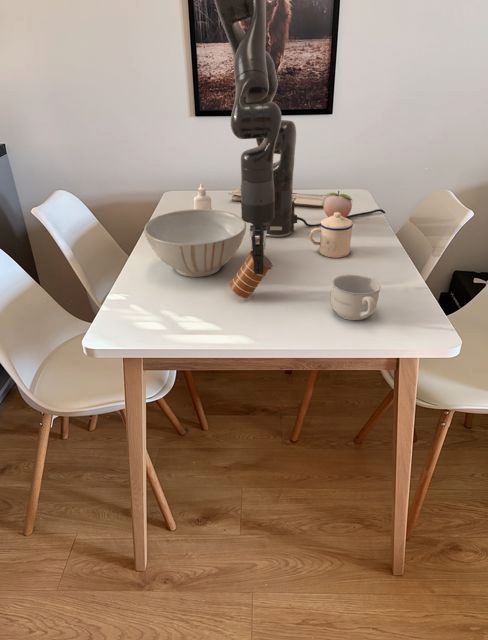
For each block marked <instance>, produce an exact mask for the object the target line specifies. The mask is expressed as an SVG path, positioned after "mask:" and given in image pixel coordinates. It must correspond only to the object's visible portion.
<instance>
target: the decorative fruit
mask: <svg viewBox="0 0 488 640" xmlns="http://www.w3.org/2000/svg"><path fill="white" fill-rule="evenodd" d="M324 195H325V196H327V195H329V196H328V197H327V198H326V199H325V201H324V207H323V211H324V214H325V215H326V216H327V217H330V216H333V215H334V213H335V212H339V213H341V216H343V217H346V216H349V215H350V213H351V212H352V208H353V203H352V201H353V198H352V197H351V196H350V195H348V194H344V193H341V194H340V190H338V191H337V193H336V192H329V193H326V194H324Z"/></svg>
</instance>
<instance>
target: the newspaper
mask: <svg viewBox="0 0 488 640" xmlns="http://www.w3.org/2000/svg"><path fill="white" fill-rule="evenodd" d="M227 194H229V195H232V196H231V200H232V202H240V203H241V188H240V189H239V188H236V189H234V190H233V191H231V192H228V193H227ZM325 195H326V194H315V193H299V192H292V201H294V203H295V206H309V207H321V208H322V207H323V208H324V201H325V199H326V198H327V197H328V196H329V195H327V196H325Z"/></svg>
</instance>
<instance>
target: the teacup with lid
mask: <svg viewBox="0 0 488 640" xmlns="http://www.w3.org/2000/svg"><path fill="white" fill-rule="evenodd" d="M319 224H320V225H321V226H320V227H314V228H312V229H311V230H310V232H309V235H308V236H309V240H310V242H311V244H313V245H314V246H319V253H320V255H322V256H324V257H328V258H334V259H335V258H338V259H339V258H344V257H347V256H348V255H349V254H350V251H351V240H352V231H353V230H352V229H353V226H354V223H353V221H352V220H351V218H345V217H343V216H341V213H339V212H335V213H334V215H333V216H330V217H328V216H327V217H324V218H323V219H322V220H321V221H320V223H319ZM316 232H320V234H319V237H320V238H319V241H315V240H314V238H313V234H314V233H316Z"/></svg>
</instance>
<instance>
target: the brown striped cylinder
mask: <svg viewBox="0 0 488 640" xmlns="http://www.w3.org/2000/svg"><path fill="white" fill-rule="evenodd" d="M255 254H261V253H260V252H258V251H255ZM252 256H253V253H252V250H250V252H249V254H248V256H247V258H246V259H245V260H244V263H243V264H242V265H241V266H240V268H239V270H238V271H237V272H236V274H235V275H234V277H232V280H231V281H230V282H229V287H230V289H231V291H232V292H233V293H234V294H236V295H237V296H239V297H241V298H243V299H250V297H251V296H252V294H253V293H254V292H255V290H256V289H257V288H258V286H259V284H260V283H261V282H262V281H263V279H264V278H265V276H267V274H268V272H269V270H272V269H273V267H274V265H273V262H272V261H271V259H269V257H267V256H266V255H265V254H264V259H263V270H264V271H263V274H255V273H254V260H253V258H252Z"/></svg>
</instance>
